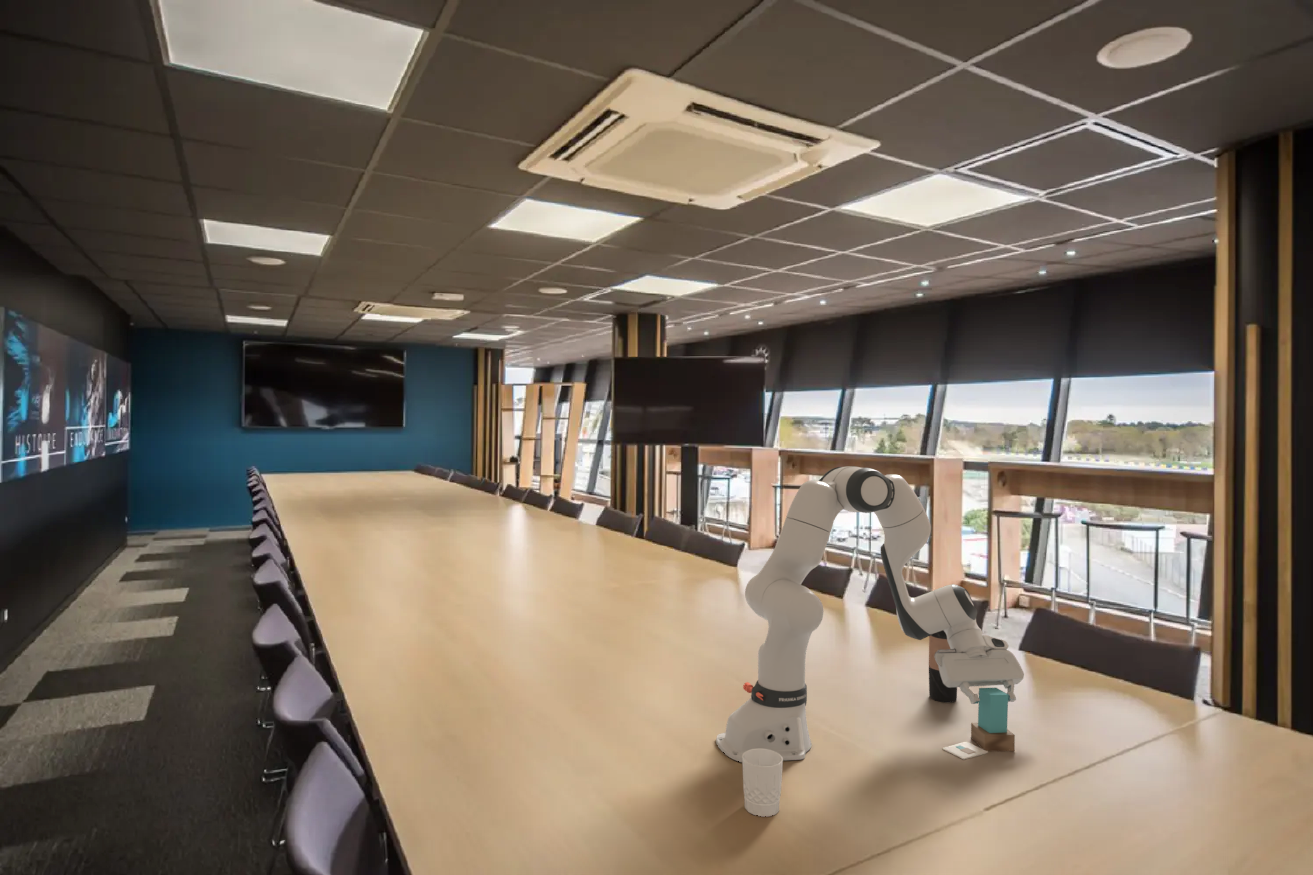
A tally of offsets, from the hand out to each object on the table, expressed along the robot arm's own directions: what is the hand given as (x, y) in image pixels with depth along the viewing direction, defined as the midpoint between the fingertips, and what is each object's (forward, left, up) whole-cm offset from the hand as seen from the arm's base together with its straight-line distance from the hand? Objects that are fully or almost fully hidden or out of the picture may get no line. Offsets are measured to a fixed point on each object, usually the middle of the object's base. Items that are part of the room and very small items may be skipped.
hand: (994, 701), depth 167 cm
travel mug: (+10, +29, -11) cm, 32 cm away
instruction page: (-9, 0, -10) cm, 14 cm away
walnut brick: (0, +1, -11) cm, 11 cm away
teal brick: (0, 0, -7) cm, 7 cm away
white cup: (-66, -8, -11) cm, 67 cm away
